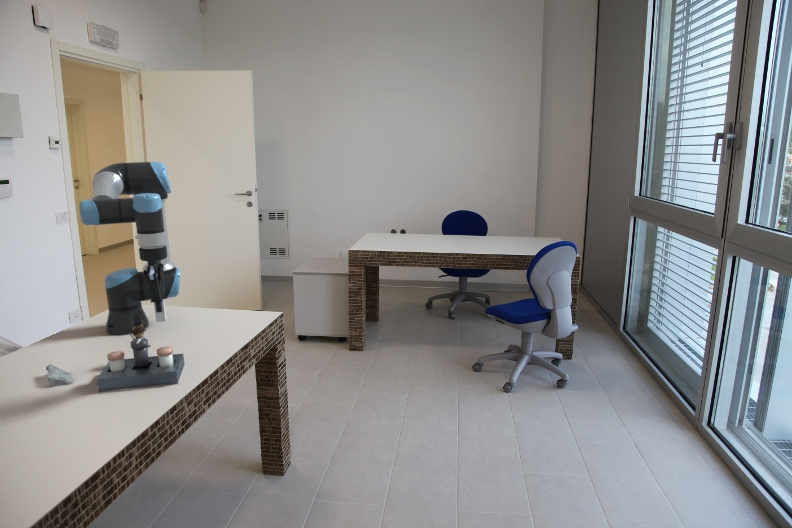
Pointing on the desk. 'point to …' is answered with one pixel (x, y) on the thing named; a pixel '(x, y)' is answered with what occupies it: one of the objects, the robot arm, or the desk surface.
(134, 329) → the toy
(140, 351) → the dial
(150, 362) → the mount
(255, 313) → the desk surface
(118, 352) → the knob
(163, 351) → the knob
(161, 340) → the desk surface
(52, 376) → the mineral specimen
